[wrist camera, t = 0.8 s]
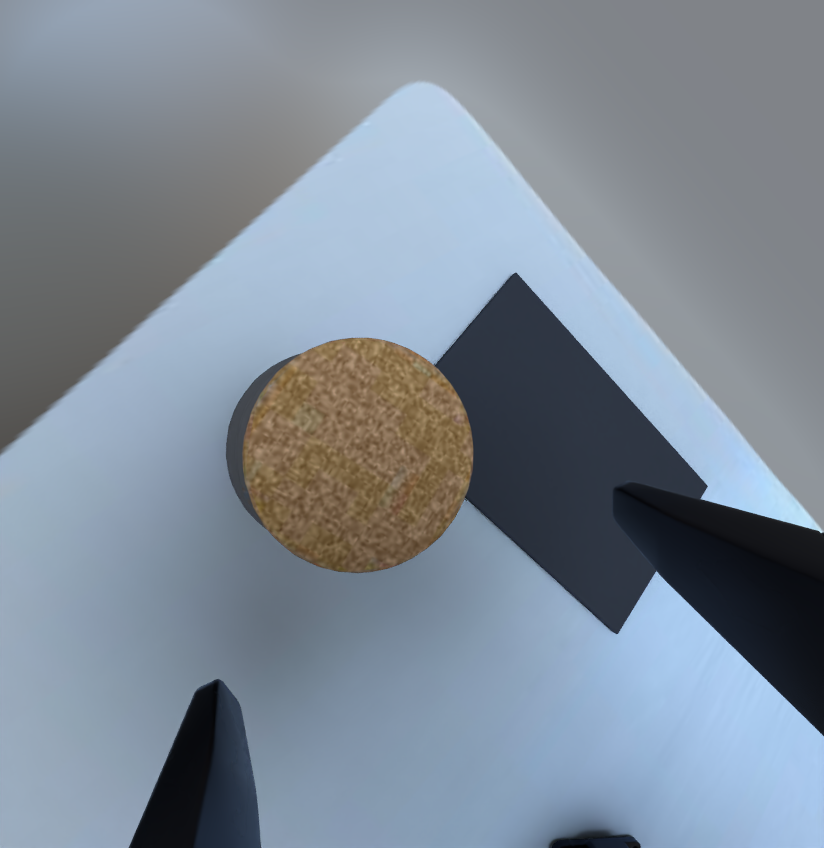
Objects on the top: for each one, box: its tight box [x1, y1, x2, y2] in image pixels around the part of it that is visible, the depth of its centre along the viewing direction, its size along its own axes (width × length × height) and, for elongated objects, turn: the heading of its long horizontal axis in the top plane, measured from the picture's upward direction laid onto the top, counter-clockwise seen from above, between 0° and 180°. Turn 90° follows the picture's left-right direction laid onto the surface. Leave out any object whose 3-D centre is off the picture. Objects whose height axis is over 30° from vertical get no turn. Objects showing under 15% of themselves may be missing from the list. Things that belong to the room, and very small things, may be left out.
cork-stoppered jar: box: [226, 338, 473, 573], centre depth 16 cm, size 6×6×15 cm
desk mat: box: [435, 273, 708, 634], centre depth 28 cm, size 20×12×1 cm, turn 49°
